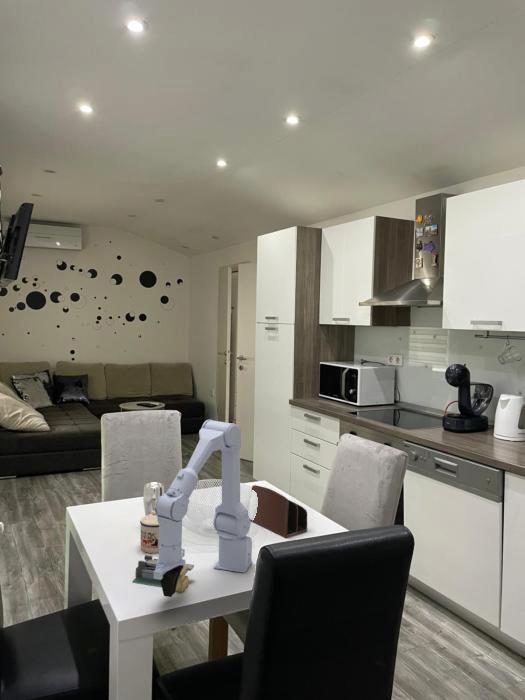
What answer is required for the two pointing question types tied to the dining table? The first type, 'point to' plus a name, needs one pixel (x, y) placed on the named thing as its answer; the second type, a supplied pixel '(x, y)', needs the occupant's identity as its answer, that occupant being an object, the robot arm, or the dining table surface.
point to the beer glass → (152, 495)
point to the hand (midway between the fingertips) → (169, 594)
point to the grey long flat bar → (154, 562)
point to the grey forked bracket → (142, 566)
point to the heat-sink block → (148, 577)
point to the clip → (182, 581)
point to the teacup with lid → (150, 533)
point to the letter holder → (279, 513)
